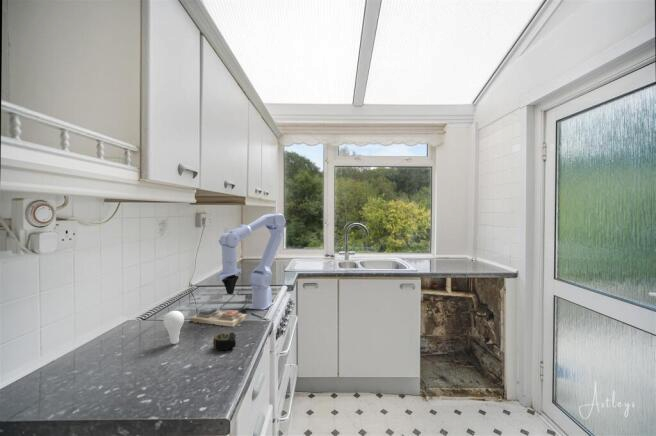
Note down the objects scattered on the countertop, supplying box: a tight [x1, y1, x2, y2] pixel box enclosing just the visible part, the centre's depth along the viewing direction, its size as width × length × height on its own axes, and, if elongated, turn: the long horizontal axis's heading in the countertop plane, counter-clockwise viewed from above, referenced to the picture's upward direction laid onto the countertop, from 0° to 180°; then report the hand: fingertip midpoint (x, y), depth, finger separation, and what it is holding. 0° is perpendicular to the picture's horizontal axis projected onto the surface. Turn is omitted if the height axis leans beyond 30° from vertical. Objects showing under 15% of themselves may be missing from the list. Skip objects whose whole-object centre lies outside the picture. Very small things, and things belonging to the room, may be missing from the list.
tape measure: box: [212, 332, 237, 351], centre depth 97 cm, size 7×7×4 cm
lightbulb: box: [163, 310, 185, 345], centre depth 100 cm, size 6×6×11 cm
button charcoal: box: [199, 307, 217, 315], centre depth 124 cm, size 4×4×2 cm
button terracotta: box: [222, 309, 239, 318], centre depth 120 cm, size 4×4×2 cm
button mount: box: [189, 309, 248, 328], centre depth 122 cm, size 10×20×2 cm, turn 73°
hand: (230, 293), depth 126 cm, fingers closed
